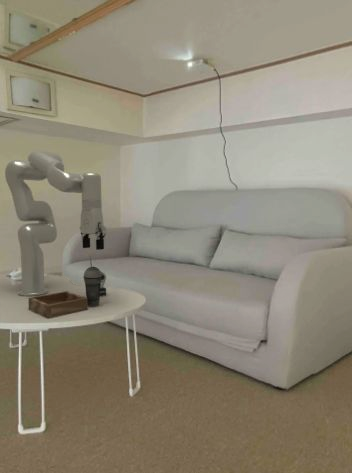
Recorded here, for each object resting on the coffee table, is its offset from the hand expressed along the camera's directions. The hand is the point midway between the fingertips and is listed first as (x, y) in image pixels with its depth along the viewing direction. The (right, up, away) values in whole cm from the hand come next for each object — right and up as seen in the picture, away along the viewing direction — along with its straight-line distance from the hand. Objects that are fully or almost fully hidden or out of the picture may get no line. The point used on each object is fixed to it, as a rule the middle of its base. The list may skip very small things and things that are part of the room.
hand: (93, 248), depth 147 cm
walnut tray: (-13, -23, -4) cm, 27 cm away
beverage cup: (0, -23, +2) cm, 23 cm away
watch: (-2, -22, +19) cm, 29 cm away
